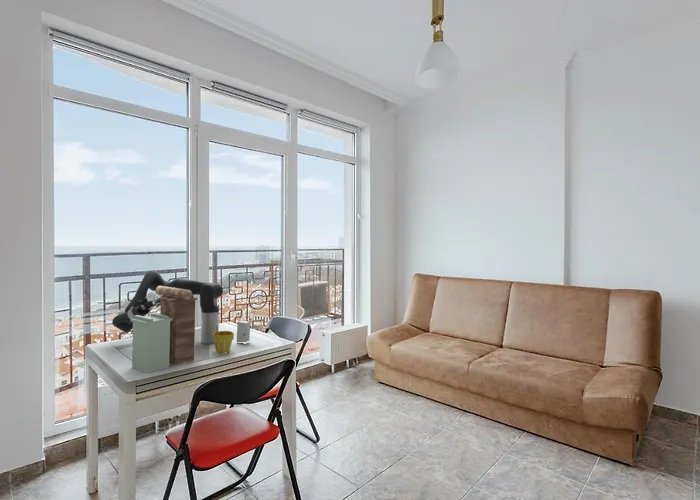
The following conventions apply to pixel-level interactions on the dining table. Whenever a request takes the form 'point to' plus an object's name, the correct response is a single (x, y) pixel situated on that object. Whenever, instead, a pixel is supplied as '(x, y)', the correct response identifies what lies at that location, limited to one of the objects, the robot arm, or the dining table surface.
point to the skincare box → (243, 331)
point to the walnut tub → (180, 327)
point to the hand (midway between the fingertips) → (155, 298)
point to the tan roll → (174, 292)
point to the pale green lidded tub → (151, 342)
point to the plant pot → (223, 341)
